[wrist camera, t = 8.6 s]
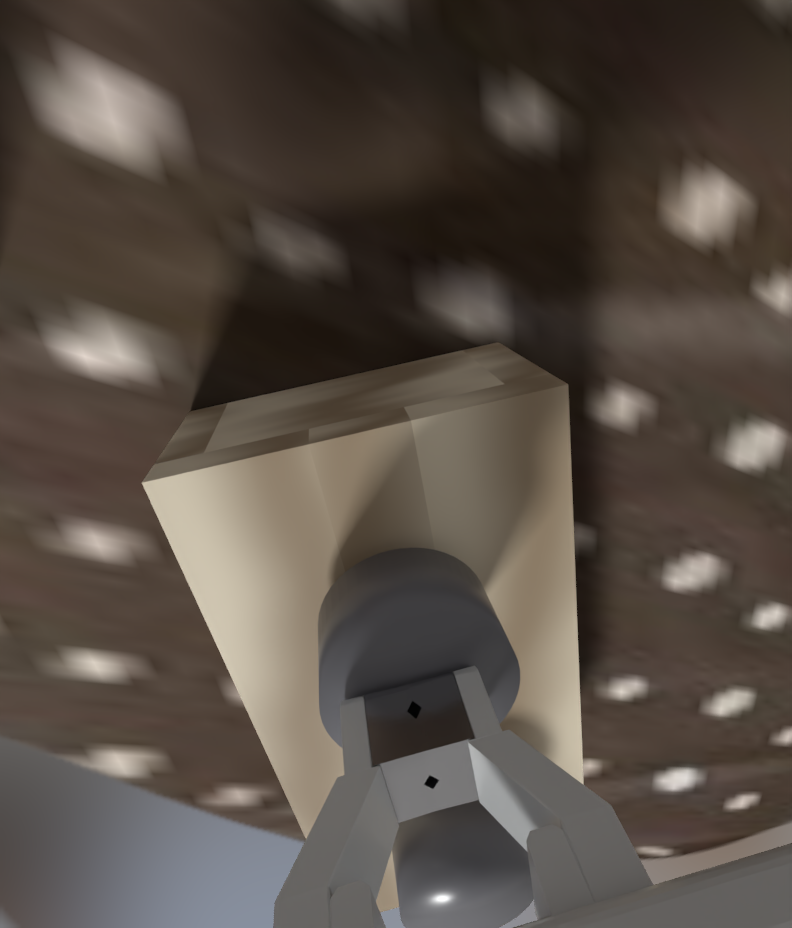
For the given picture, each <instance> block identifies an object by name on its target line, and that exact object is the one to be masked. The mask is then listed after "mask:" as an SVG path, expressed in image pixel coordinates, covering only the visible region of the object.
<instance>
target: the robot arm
mask: <svg viewBox="0 0 792 928" xmlns="http://www.w3.org/2000/svg"><path fill="white" fill-rule="evenodd" d="M340 717H341V732H342V747H343V762H344V775H343V776H340V777H337V779H336V781H335V783H334V785H333V787H332V789H331V791H330V793H329V795H328V797H327V799H326V801H325V803H324V805H323V807H322V809H321V811H320V813H319V815H318V817H317V819H316V821H315V823H314V825H313V827H312V829H311V831H310V833H309V835H308V837H307V839H306V841H305V843H304V845H303V847H302V849H301V851H300V853H299V855H298V857H297V859H296V861H295V863H294V865H293V867H292V869H291V871H290V873H289V875H288V877H287V879H286V881H285V883H284V885H283V887H282V889H281V891H280V893H279V895H278V897H277V899H276V901H275V907H274V926H273V928H386V927H385V924H384V922H383V919H382V916H381V914H380V911H379V909H378V906H377V904H376V900H377V896H378V893H379V890H380V887H381V883H382V880H383V877H384V874H385V870H386V867H387V864H388V860H389V857H390V854H391V851H392V847H393V844H394V841H395V838H396V834H397V831H398V828H399V824H398V823H400V822H403V821H406V820H409V819H412V818H416V817H419V816H422V815H425V814H428V813H431V812H434V811H438V810H441V809H445V808H449V807H453V806H457V805H461V804H465V803H469V802H473V801H477V800H479V802H480V803H481V804H482V805H483V806H484V807H485V808H486V809H487V810H488V812H489V813H490V814H491V815H492V816H493V817H494V818H495V819H496V820H497V821H498V822H499V823H500V824H501V825H502V826H503V827H504V828H505V829H506V830H507V831H508V832H509V833H510V834H511V835H512V836H513V838H514V839H515V840H516V841H517V842H518V843H519V844H520V845H521V846H522V847H523V848H524V849H525V850H526V851H527V852H528V859H529V867H530V874H531V882H532V890H533V898H534V906H535V913H536V916H537V921H533V922H530V923H527V924H524V925H521V926H517V927H514V928H792V843H791V844H787V845H784V846H781V847H777V848H774V849H771V850H768V851H764V852H761V853H758V854H755V855H751V856H748V857H745V858H741V859H738V860H735V861H731V862H728V863H725V864H722V865H718V866H715V867H712V868H708V869H705V870H702V871H699V872H695V873H692V874H688V875H685V876H682V877H679V878H675V879H672V880H669V881H665V882H662V883H659V884H656V885H653V883H652V882H651V880H650V878H649V876H648V874H647V872H646V870H645V869H644V866H643V865H642V863H641V861H640V859H639V857H638V855H637V853H636V851H635V849H634V848H633V846H632V844H631V842H630V840H629V838H628V836H627V834H626V832H625V831H624V829H623V827H622V825H621V823H620V821H619V819H618V817H617V816H616V814H615V812H614V810H613V808H612V806H611V805H610V804H609V803H607V802H606V801H605V800H603V799H602V798H600V797H599V796H598V795H596V794H595V793H594V792H592V791H591V790H590V789H588V788H587V787H586V786H584V785H583V784H582V783H580V782H579V781H578V780H576V779H575V778H574V777H572V776H571V775H570V774H568V773H567V772H566V771H564V770H563V769H562V768H560V767H559V766H557V765H556V764H555V763H553V762H552V761H551V760H549V759H548V758H547V757H545V756H544V755H543V754H541V753H540V752H539V751H537V750H536V749H535V748H533V747H532V746H531V745H529V744H528V743H527V742H525V741H524V740H523V739H521V738H520V737H519V736H517V735H516V734H514V733H513V732H512V731H510V730H505V731H502V729H501V727H500V724H499V722H498V719H497V717H496V714H495V712H494V709H493V707H492V704H491V701H490V699H489V696H488V694H487V691H486V689H485V686H484V684H483V681H482V679H481V676H480V673H479V671H478V669H477V668H476V667H475V666H471V667H467V668H464V669H460V670H456V671H453V673H452V671H451V672H448V673H444V674H441V675H437V676H434V677H430V678H427V679H423V680H419V681H416V682H412V683H409V684H408V685H404V686H400V687H396V688H391V689H387V690H383V691H379V692H375V693H371V694H366V695H363V696H359V697H355V698H351V699H347V700H343V701H341V705H340Z"/></svg>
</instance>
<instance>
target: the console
mask: <svg viewBox="0 0 792 928" xmlns="http://www.w3.org/2000/svg"><path fill="white" fill-rule="evenodd" d="M142 484H143V486H144V489H145V491H146V493H147V495H148V497H149V499H150V502H151V504H152V506H153V508H154V510H155V512H156V515H157V517H158V519H159V521H160V523H161V525H162V528H163V530H164V532H165V534H166V536H167V538H168V541H169V543H170V545H171V547H172V549H173V551H174V554H175V556H176V558H177V560H178V562H179V564H180V567H181V569H182V571H183V573H184V575H185V577H186V580H187V582H188V584H189V586H190V588H191V590H192V593H193V595H194V597H195V599H196V601H197V603H198V606H199V608H200V610H201V612H202V614H203V617H204V619H205V621H206V623H207V625H208V627H209V630H210V632H211V634H212V636H213V638H214V640H215V643H216V645H217V647H218V649H219V651H220V653H221V656H222V658H223V660H224V662H225V664H226V666H227V669H228V671H229V673H230V675H231V677H232V679H233V682H234V684H235V686H236V688H237V690H238V692H239V695H240V697H241V699H242V701H243V703H244V705H245V708H246V710H247V712H248V714H249V716H250V718H251V721H252V723H253V725H254V727H255V729H256V731H257V734H258V736H259V738H260V740H261V742H262V744H263V747H264V749H265V751H266V753H267V755H268V757H269V760H270V762H271V764H272V766H273V768H274V770H275V773H276V775H277V777H278V779H279V781H280V783H281V786H282V788H283V790H284V792H285V794H286V796H287V799H288V801H289V803H290V805H291V807H292V809H293V812H294V814H295V816H296V818H297V820H298V822H299V825H300V827H301V829H302V831H303V833H304V836H305V838H306V839H307V837H308V835H309V833H310V831H311V829H312V827H313V825H314V823H315V821H316V819H317V817H318V815H319V813H320V811H321V809H322V807H323V805H324V803H325V801H326V799H327V797H328V795H329V793H330V791H331V789H332V787H333V785H334V783H335V781H336V779H337V777H340V776H343V775H344V762H343V748H341V747H340V746H339V745H338V744H337V743H336V742H335V741H334V740H333V739H332V738H331V737H330V735H329V734H328V733H327V731H326V729H325V727H324V725H323V723H322V720H321V716H320V710H319V671H318V616H319V611H320V608H321V604H322V602H323V600H324V598H325V596H326V594H327V592H328V591H329V589H330V588H331V586H332V585H333V584H334V583H335V582H336V580H337V579H338V578H339V577H340V576H341V575H343V574H344V573H345V572H346V571H347V570H349V569H350V568H351V567H353V566H354V565H355V564H357V563H359V562H361V561H363V560H364V559H366V558H369V557H371V556H373V555H376V554H379V553H382V552H385V551H389V550H394V549H400V548H426V549H433V550H437V551H441V552H444V553H447V554H449V555H451V556H454V557H456V558H457V559H459V560H461V561H462V562H464V563H465V564H466V565H467V566H468V567H470V568H471V569H472V571H473V572H474V573H475V574H476V575H477V577H478V578H479V580H480V582H481V583H482V585H483V587H484V590H485V592H486V594H487V596H488V598H489V600H490V602H491V604H492V606H493V608H494V610H495V612H496V615H497V617H498V619H499V621H500V623H501V625H502V627H503V629H504V631H505V633H506V635H507V637H508V640H509V642H510V644H511V646H512V648H513V650H514V652H515V654H516V657H517V659H518V662H519V667H520V686H519V691H518V694H517V697H516V700H515V702H514V704H513V706H512V708H511V710H510V711H509V713H508V714H507V716H506V717H505V718H504V719H503V721H502V722H501V723H500V727H501V729H502V731H505V730H510V731H512V732H513V733H514V734H516V735H517V736H519V737H520V738H521V739H523V740H524V741H525V742H527V743H528V744H529V745H531V746H532V747H533V748H535V749H536V750H537V751H539V752H540V753H541V754H543V755H544V756H545V757H547V758H548V759H549V760H551V761H552V762H553V763H555V764H556V765H557V766H559V767H560V768H562V769H563V770H564V771H566V772H567V773H568V774H570V775H571V776H572V777H574V778H575V779H576V780H578V781H579V782H580V783H582V784H583V758H582V732H581V706H580V679H579V653H578V627H577V600H576V574H575V548H574V521H573V495H572V469H571V443H570V416H569V390H568V384H567V383H565V382H564V381H562V380H560V379H559V378H557V377H555V376H554V375H552V374H550V373H549V372H547V371H545V370H544V369H542V368H540V367H539V366H537V365H535V364H534V363H532V362H530V361H529V360H527V359H525V358H524V357H522V356H520V355H519V354H517V353H515V352H514V351H512V350H510V349H509V348H507V347H505V346H504V345H502V344H500V343H499V342H497V343H492V344H488V345H484V346H479V347H475V348H470V349H466V350H461V351H457V352H452V353H448V354H443V355H439V356H435V357H430V358H426V359H421V360H417V361H412V362H408V363H403V364H399V365H394V366H390V367H385V368H381V369H377V370H372V371H368V372H363V373H359V374H354V375H350V376H345V377H341V378H336V379H332V380H328V381H323V382H319V383H314V384H310V385H305V386H301V387H296V388H292V389H287V390H283V391H279V392H274V393H270V394H265V395H261V396H256V397H252V398H247V399H243V400H238V401H234V402H230V403H225V404H221V405H216V406H212V407H207V408H203V409H198V410H194V411H190V412H189V413H188V415H187V416H186V418H185V419H184V421H183V422H182V424H181V425H180V427H179V428H178V430H177V431H176V433H175V434H174V436H173V437H172V439H171V440H170V442H169V443H168V445H167V446H166V448H165V449H164V451H163V452H162V454H161V455H160V457H159V458H158V460H157V461H156V463H155V464H154V466H153V467H152V469H151V470H150V471H149V473H148V474H147V476H146V477H145V479H144V480H143V482H142ZM376 904H377V906H378V909H379V911H380V912H383V911H387V910H390V909H394V908H397V907H399V901H398V893H397V885H396V878H395V870H394V862H393V854H392V851H391V854H390V857H389V860H388V864H387V867H386V870H385V874H384V877H383V880H382V883H381V887H380V890H379V893H378V896H377V900H376Z"/></svg>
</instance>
